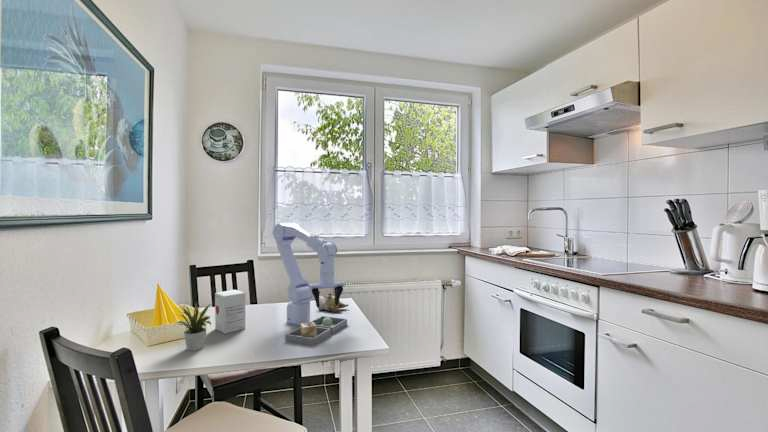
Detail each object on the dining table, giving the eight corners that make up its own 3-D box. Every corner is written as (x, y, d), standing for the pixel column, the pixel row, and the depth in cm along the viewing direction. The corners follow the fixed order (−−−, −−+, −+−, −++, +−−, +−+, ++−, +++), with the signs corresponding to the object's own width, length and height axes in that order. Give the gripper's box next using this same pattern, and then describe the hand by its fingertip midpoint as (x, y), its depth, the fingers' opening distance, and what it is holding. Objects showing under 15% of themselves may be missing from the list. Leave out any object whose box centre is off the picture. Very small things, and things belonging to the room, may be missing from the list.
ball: (320, 328, 150) (320, 318, 150) (325, 325, 154) (325, 315, 154) (328, 329, 149) (328, 319, 149) (333, 326, 152) (333, 316, 152)
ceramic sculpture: (321, 289, 185) (349, 293, 181) (320, 306, 186) (348, 310, 181) (311, 294, 175) (341, 298, 171) (311, 312, 175) (340, 316, 171)
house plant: (164, 360, 120) (164, 309, 120) (170, 345, 133) (169, 300, 132) (213, 353, 126) (213, 305, 125) (214, 339, 138) (213, 296, 138)
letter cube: (303, 341, 136) (303, 327, 135) (300, 336, 140) (300, 323, 140) (316, 339, 138) (316, 325, 137) (313, 335, 142) (313, 321, 142)
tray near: (285, 342, 136) (285, 334, 135) (304, 332, 147) (304, 325, 147) (313, 347, 131) (313, 338, 131) (330, 336, 142) (330, 328, 142)
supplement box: (214, 329, 151) (214, 292, 151) (235, 324, 157) (235, 289, 157) (224, 334, 145) (223, 296, 144) (246, 328, 151) (245, 292, 151)
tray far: (306, 331, 148) (306, 323, 148) (322, 322, 159) (322, 315, 159) (332, 335, 144) (332, 327, 144) (347, 326, 155) (347, 319, 155)
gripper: (311, 275, 144) (311, 310, 145) (347, 273, 150) (347, 306, 150) (307, 272, 151) (307, 305, 151) (342, 270, 157) (342, 302, 157)
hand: (327, 305), depth 151 cm, fingers open, 7 cm apart
